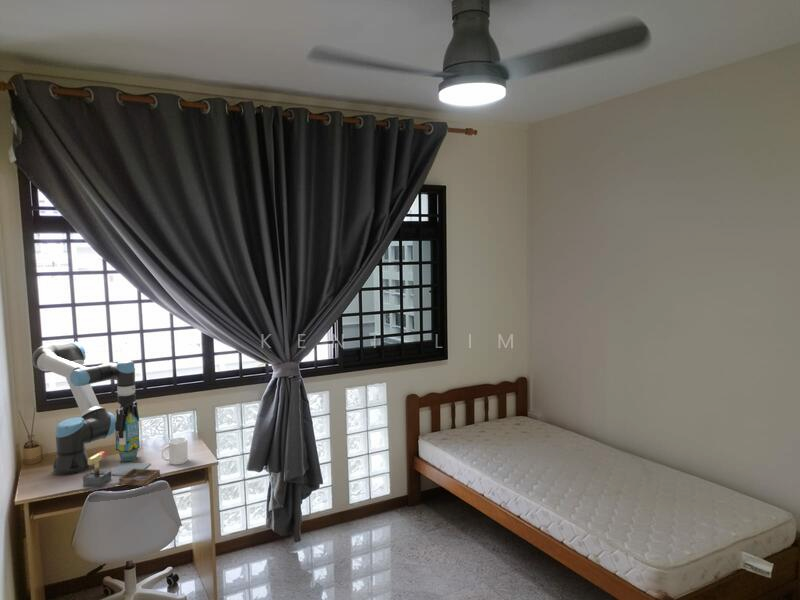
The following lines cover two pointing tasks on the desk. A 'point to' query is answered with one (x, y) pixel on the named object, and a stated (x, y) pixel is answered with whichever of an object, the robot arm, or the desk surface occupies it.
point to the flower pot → (128, 455)
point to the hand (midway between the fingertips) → (128, 440)
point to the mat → (128, 468)
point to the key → (96, 460)
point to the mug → (177, 451)
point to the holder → (144, 482)
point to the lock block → (97, 478)
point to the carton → (129, 434)
